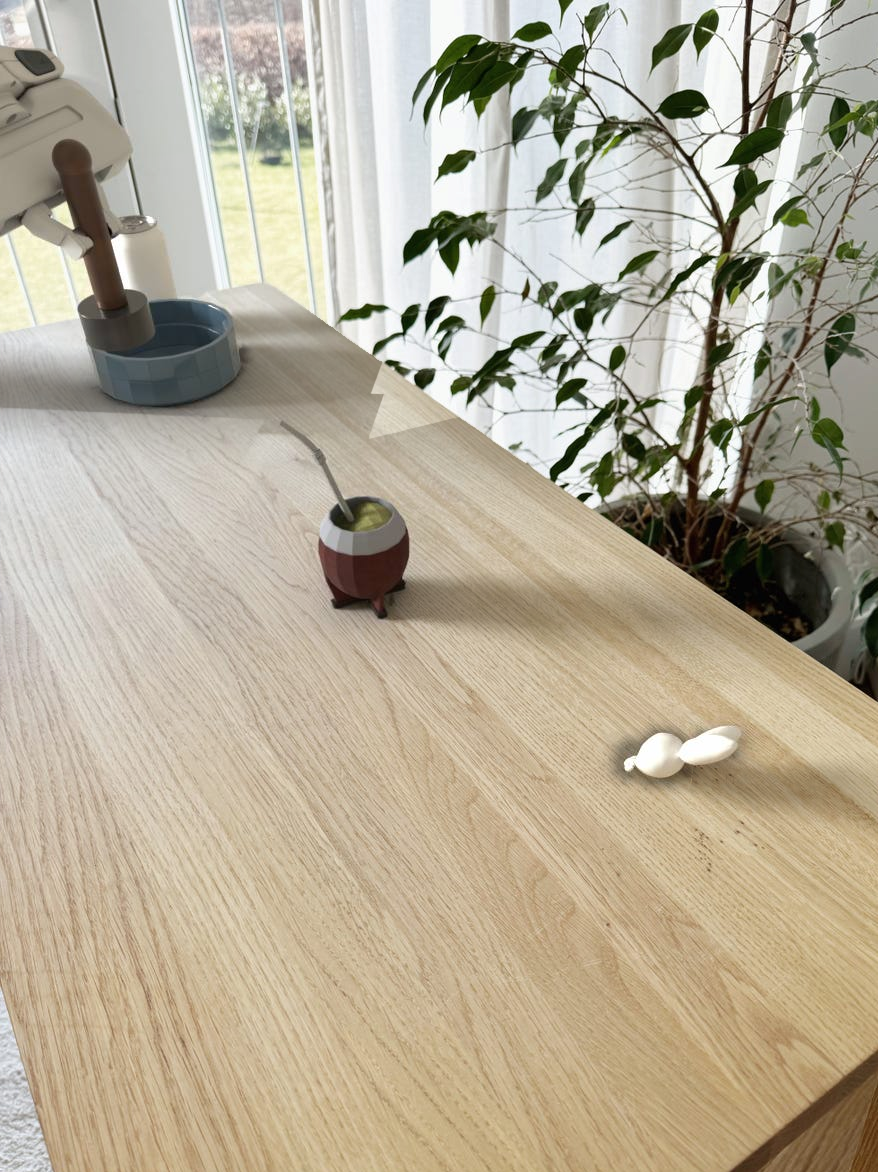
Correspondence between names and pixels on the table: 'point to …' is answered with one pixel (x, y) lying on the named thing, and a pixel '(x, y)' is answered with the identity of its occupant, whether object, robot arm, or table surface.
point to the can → (144, 258)
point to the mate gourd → (359, 544)
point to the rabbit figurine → (683, 751)
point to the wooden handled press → (100, 260)
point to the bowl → (173, 356)
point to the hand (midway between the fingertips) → (101, 244)
